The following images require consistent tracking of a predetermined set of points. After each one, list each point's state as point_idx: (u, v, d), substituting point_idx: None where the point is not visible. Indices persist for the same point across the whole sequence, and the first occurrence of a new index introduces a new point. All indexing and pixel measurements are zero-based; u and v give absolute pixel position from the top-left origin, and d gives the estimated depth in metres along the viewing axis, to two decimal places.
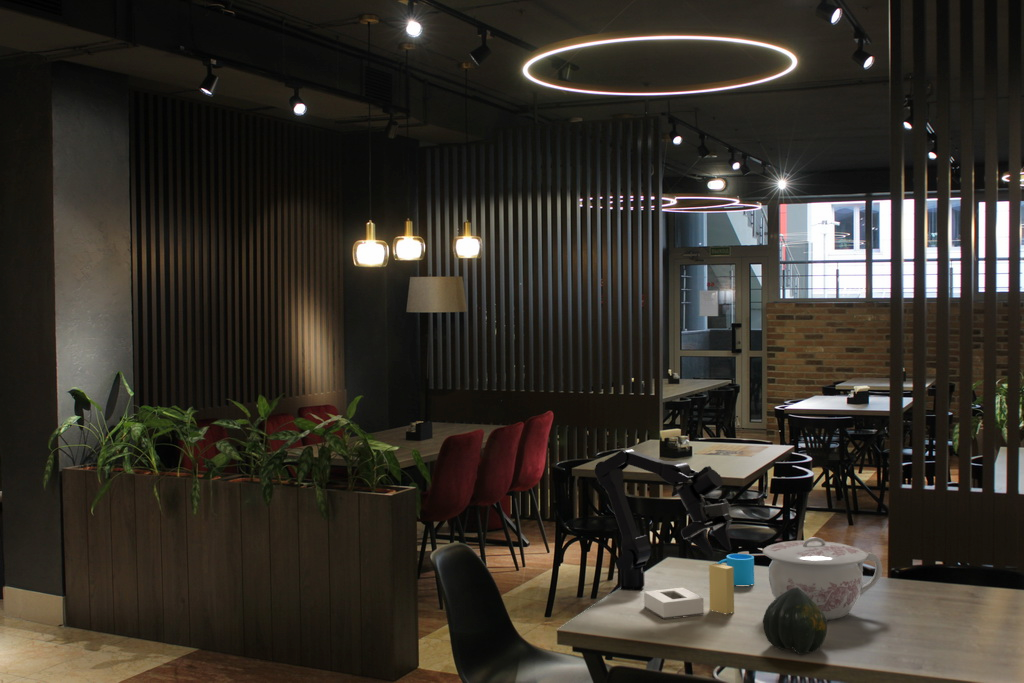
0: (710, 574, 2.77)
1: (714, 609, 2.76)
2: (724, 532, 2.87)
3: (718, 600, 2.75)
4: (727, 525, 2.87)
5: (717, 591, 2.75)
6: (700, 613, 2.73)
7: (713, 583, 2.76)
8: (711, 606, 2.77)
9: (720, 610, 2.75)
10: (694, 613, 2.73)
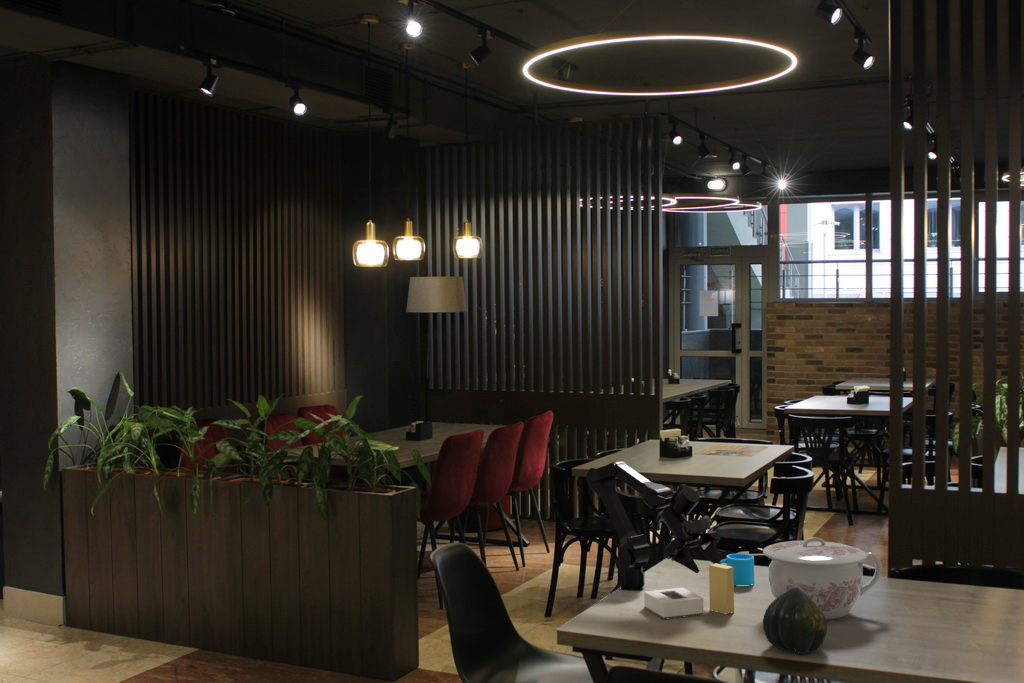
0: (710, 574, 2.77)
1: (714, 609, 2.76)
2: (712, 550, 2.85)
3: (718, 600, 2.75)
4: (714, 542, 2.85)
5: (717, 591, 2.75)
6: (700, 613, 2.73)
7: (713, 583, 2.76)
8: (711, 606, 2.77)
9: (720, 610, 2.75)
10: (694, 613, 2.73)
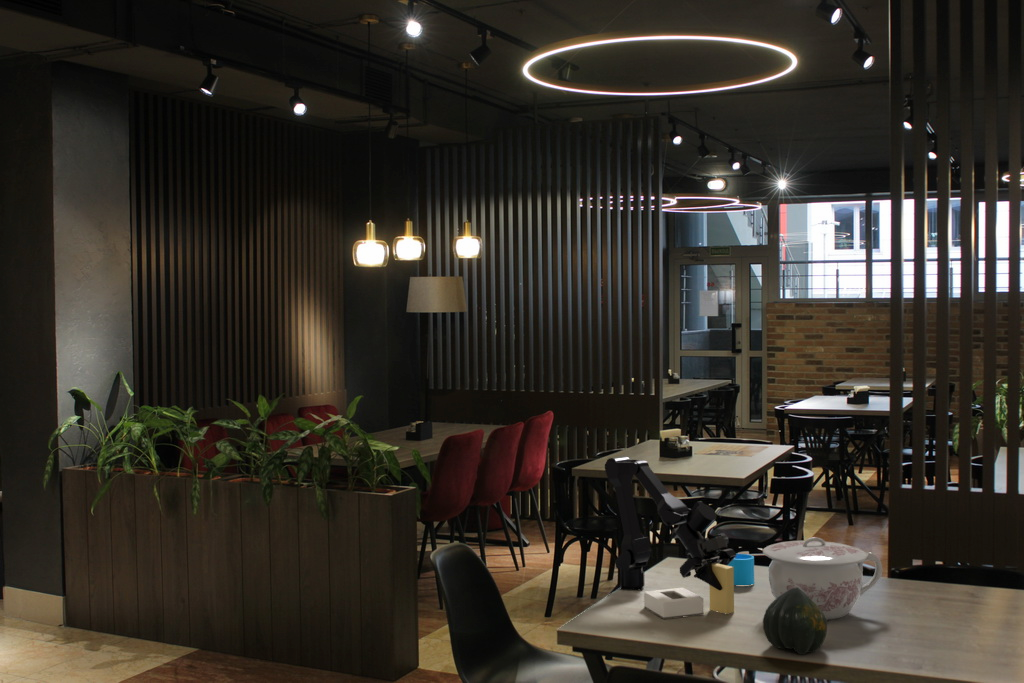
0: None
1: (714, 609, 2.76)
2: None
3: (718, 600, 2.75)
4: (724, 562, 2.79)
5: (717, 591, 2.75)
6: (700, 613, 2.73)
7: None
8: (711, 606, 2.77)
9: (720, 610, 2.75)
10: (694, 613, 2.73)
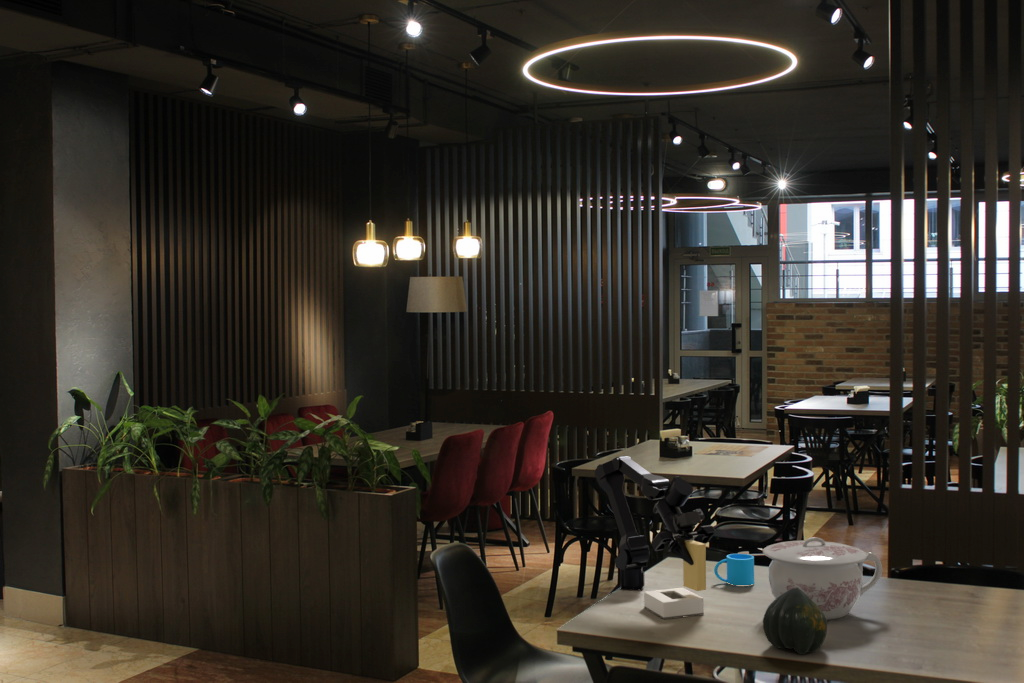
0: None
1: (687, 585, 2.77)
2: None
3: (690, 576, 2.75)
4: (699, 538, 2.78)
5: (689, 568, 2.76)
6: (700, 613, 2.73)
7: None
8: (684, 582, 2.78)
9: (692, 586, 2.75)
10: (694, 613, 2.73)
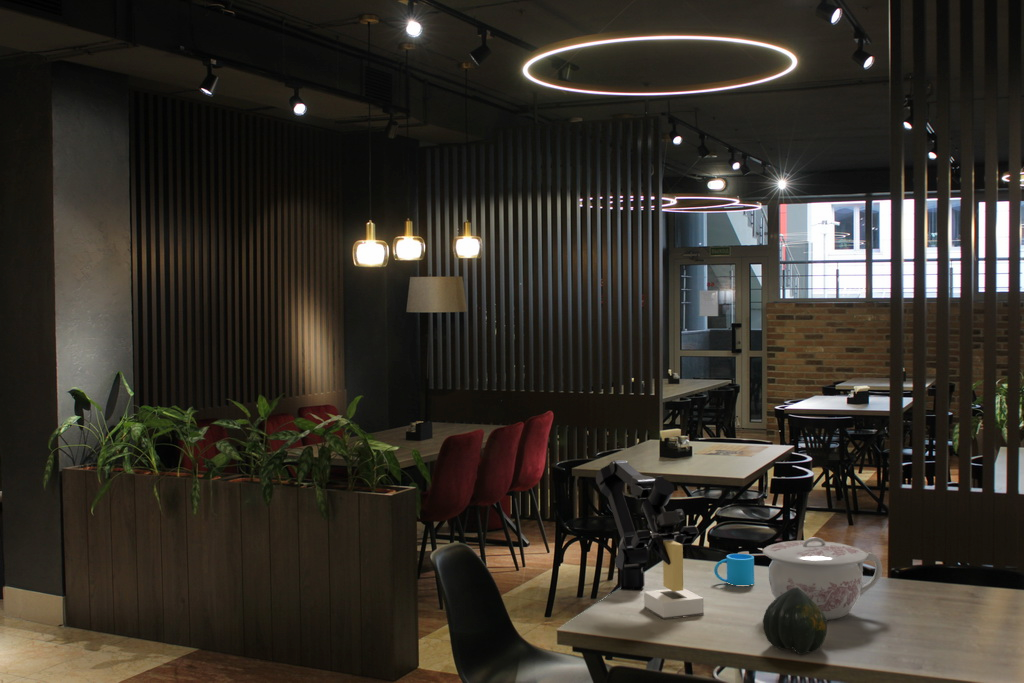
0: None
1: (666, 585, 2.78)
2: None
3: (668, 576, 2.77)
4: (679, 538, 2.79)
5: (667, 568, 2.77)
6: (700, 613, 2.73)
7: None
8: (664, 582, 2.79)
9: (669, 586, 2.76)
10: (694, 613, 2.73)
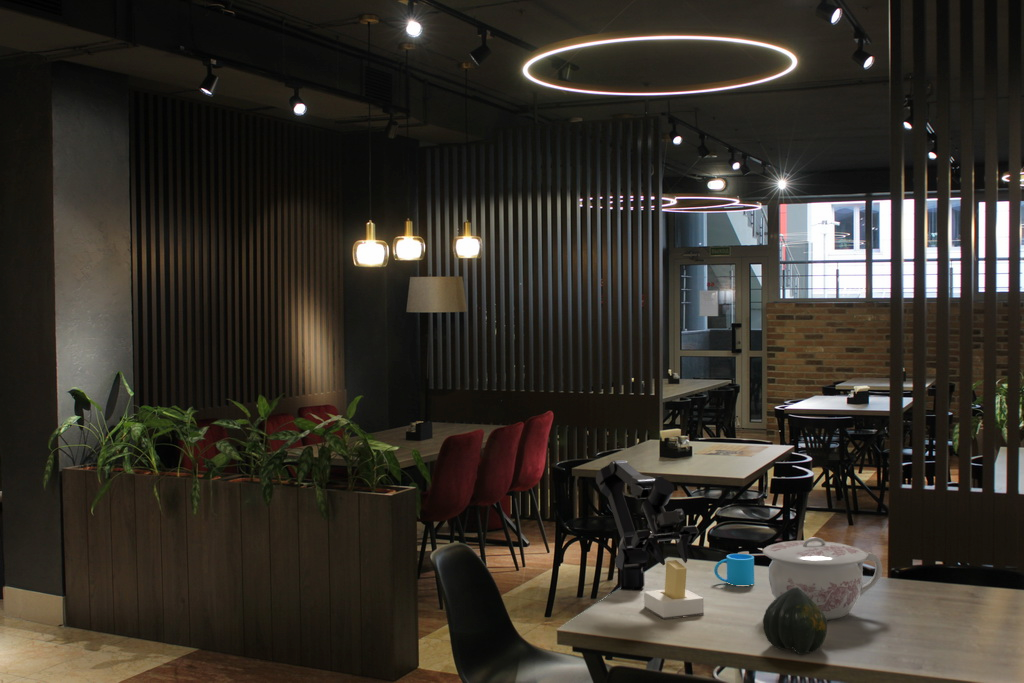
0: (666, 570, 2.77)
1: None
2: (682, 545, 2.79)
3: (669, 596, 2.76)
4: (685, 537, 2.80)
5: (669, 588, 2.76)
6: (700, 613, 2.73)
7: (667, 579, 2.77)
8: None
9: None
10: (694, 613, 2.73)
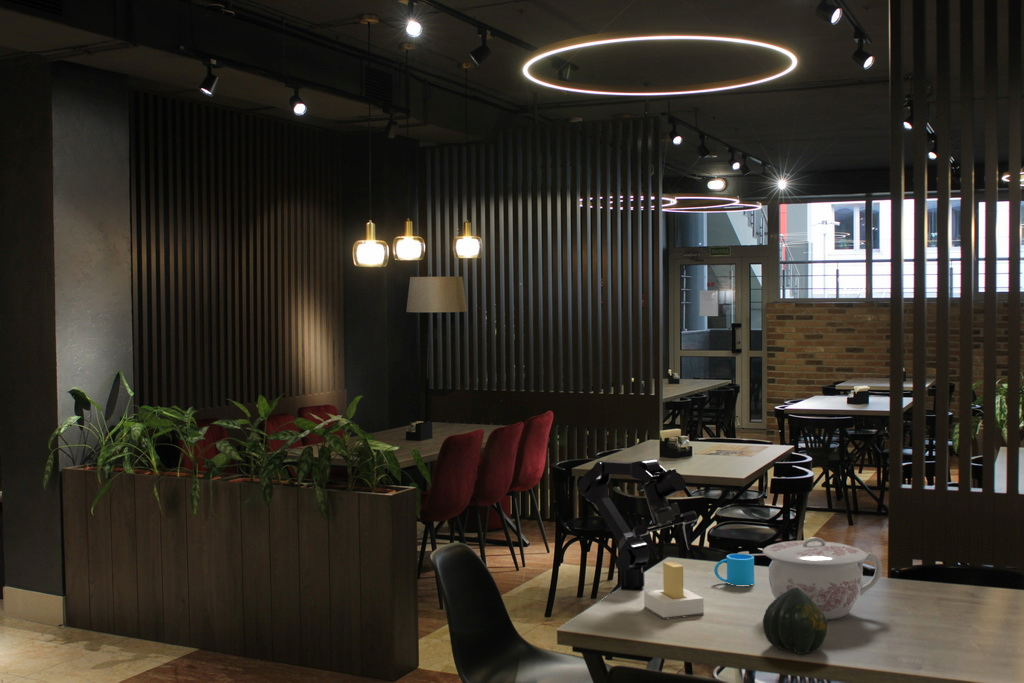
0: (664, 572, 2.79)
1: None
2: None
3: None
4: (687, 525, 2.89)
5: (667, 589, 2.77)
6: (700, 613, 2.73)
7: (665, 580, 2.78)
8: None
9: None
10: (694, 613, 2.73)
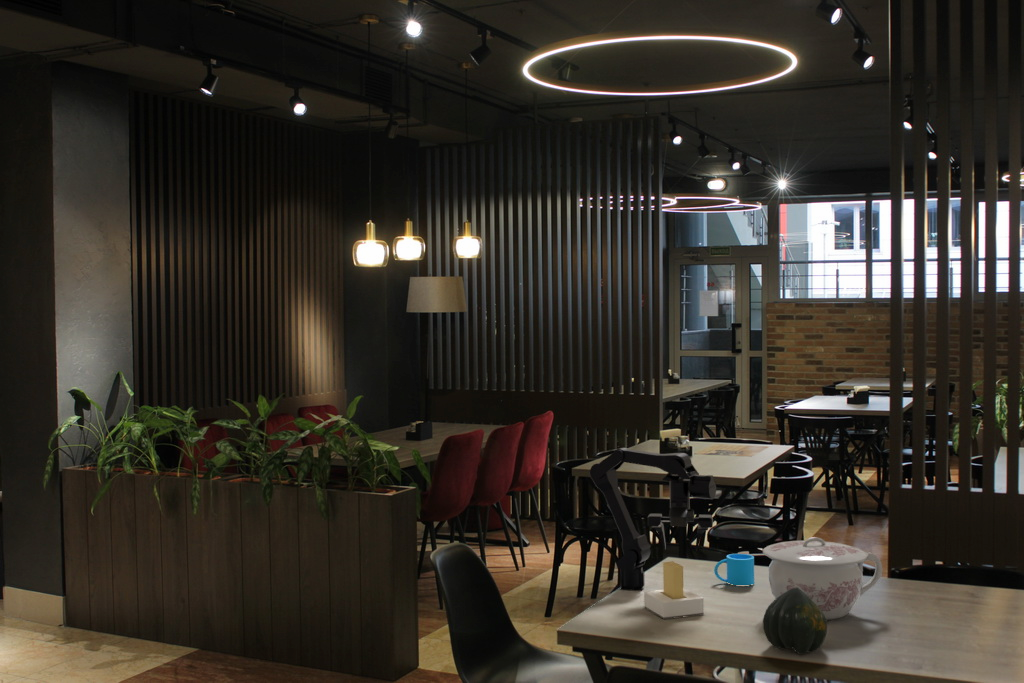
0: (664, 572, 2.79)
1: None
2: None
3: None
4: (699, 530, 2.90)
5: (667, 589, 2.77)
6: (700, 613, 2.73)
7: (665, 580, 2.78)
8: None
9: None
10: (694, 613, 2.73)
